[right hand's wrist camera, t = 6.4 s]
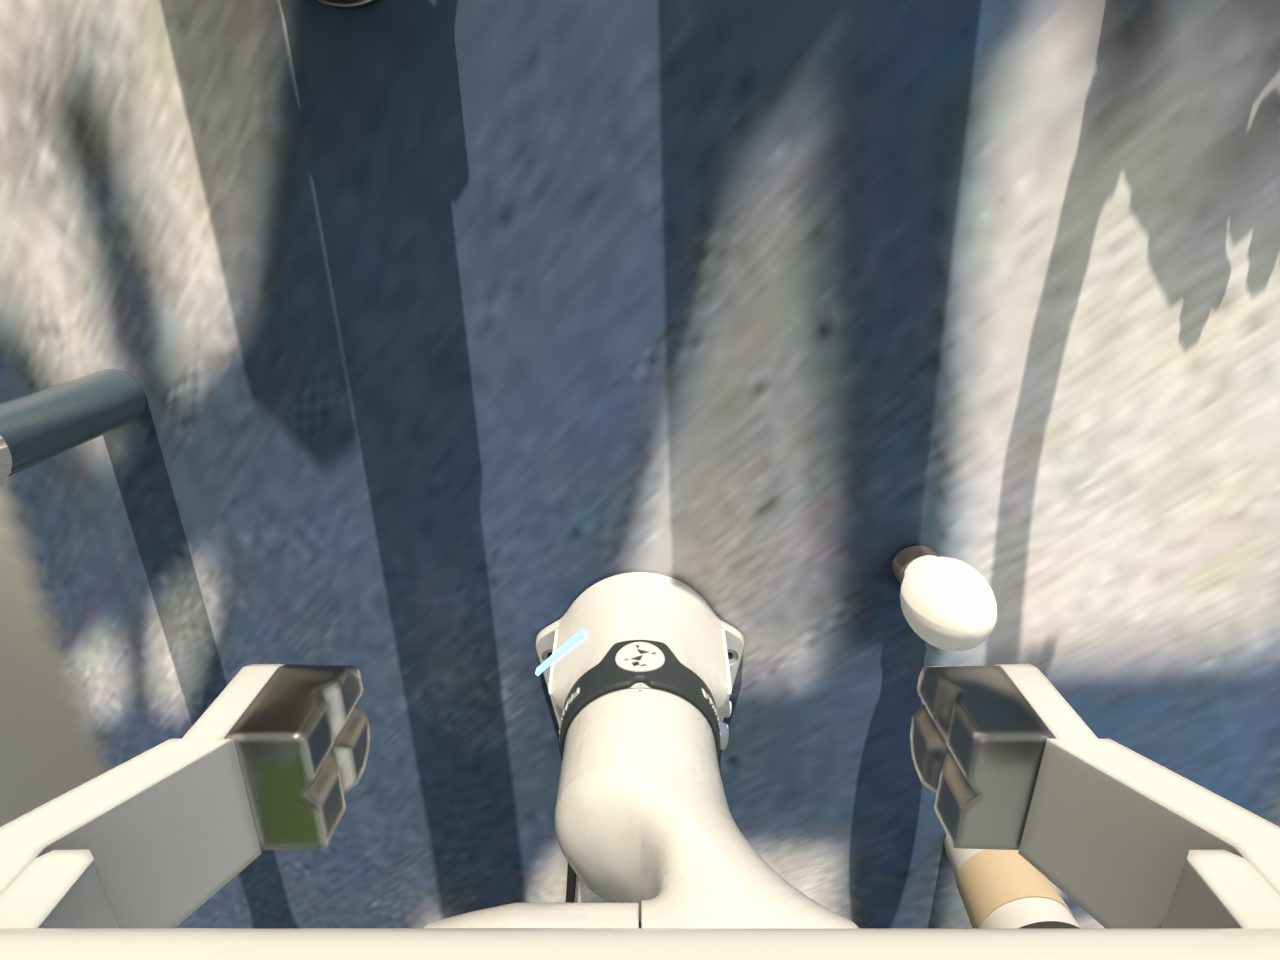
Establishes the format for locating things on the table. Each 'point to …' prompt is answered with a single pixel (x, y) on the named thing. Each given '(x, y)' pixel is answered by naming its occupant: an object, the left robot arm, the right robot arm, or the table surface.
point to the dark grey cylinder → (68, 415)
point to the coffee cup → (1006, 891)
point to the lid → (4, 461)
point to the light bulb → (944, 599)
